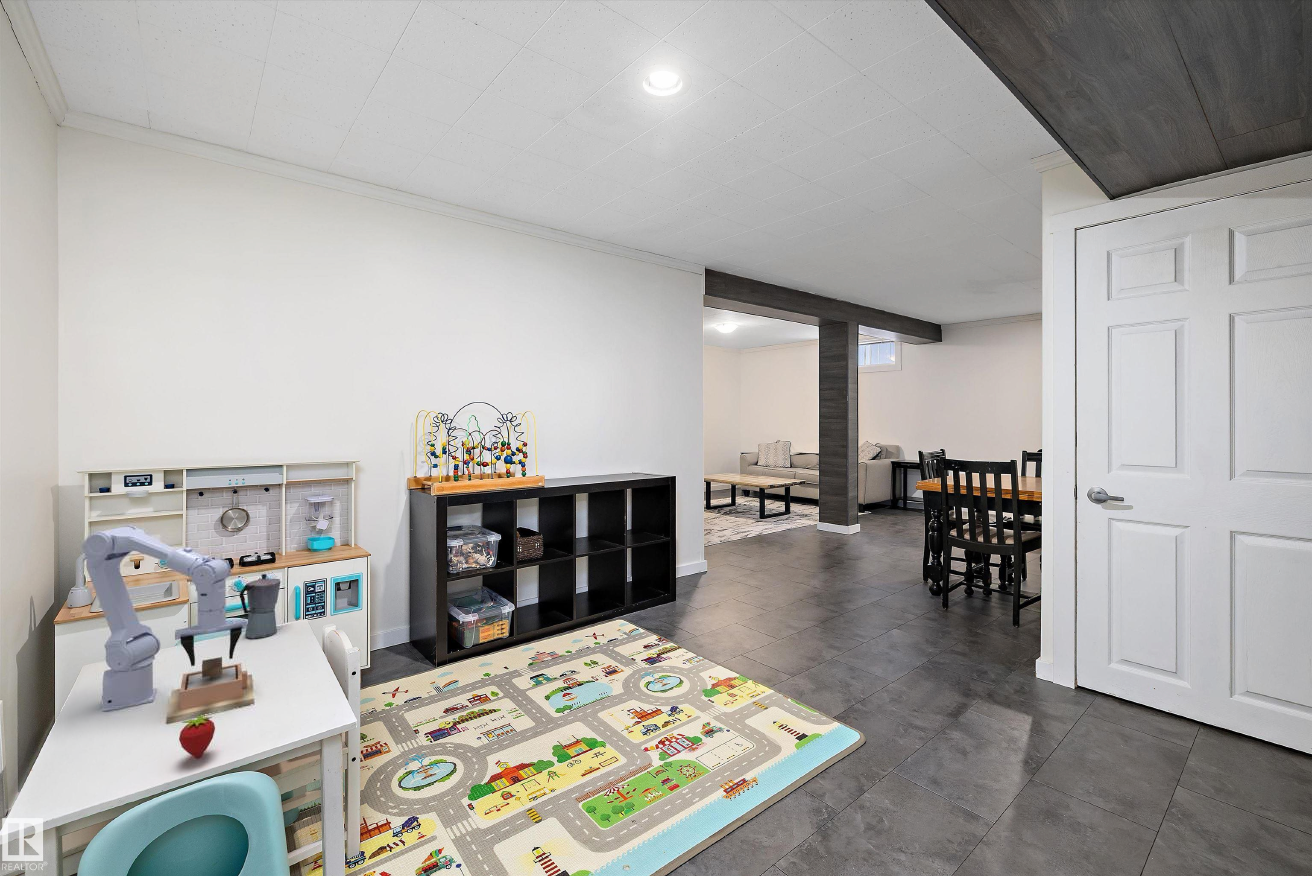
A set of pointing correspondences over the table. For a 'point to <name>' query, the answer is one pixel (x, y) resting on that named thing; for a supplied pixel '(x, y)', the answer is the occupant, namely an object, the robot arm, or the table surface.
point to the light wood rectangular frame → (177, 715)
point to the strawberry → (197, 735)
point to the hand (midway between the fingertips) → (212, 661)
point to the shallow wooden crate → (212, 690)
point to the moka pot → (261, 606)
